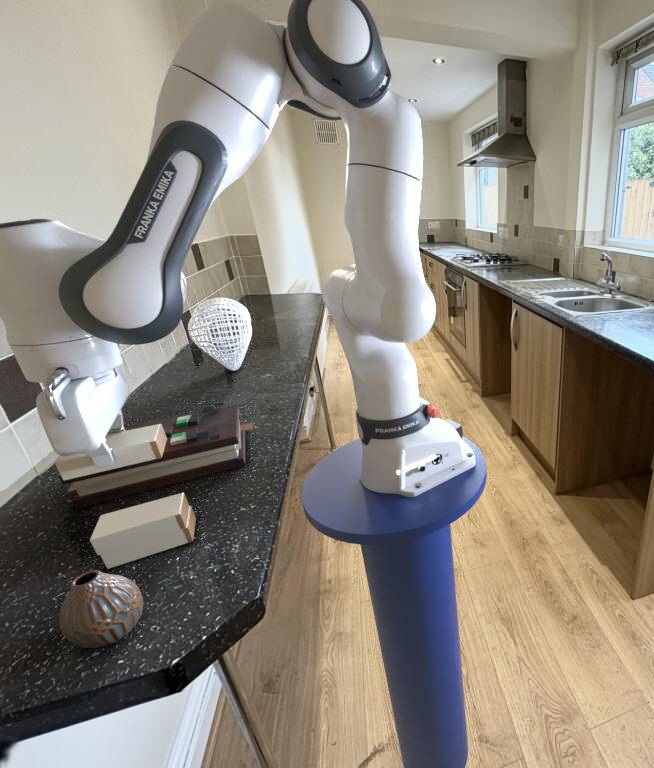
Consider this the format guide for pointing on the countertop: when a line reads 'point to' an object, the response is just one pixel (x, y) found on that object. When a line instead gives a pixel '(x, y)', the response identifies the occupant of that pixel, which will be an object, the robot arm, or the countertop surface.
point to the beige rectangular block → (143, 530)
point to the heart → (199, 335)
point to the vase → (100, 609)
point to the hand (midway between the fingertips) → (113, 451)
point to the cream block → (118, 452)
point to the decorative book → (172, 456)
